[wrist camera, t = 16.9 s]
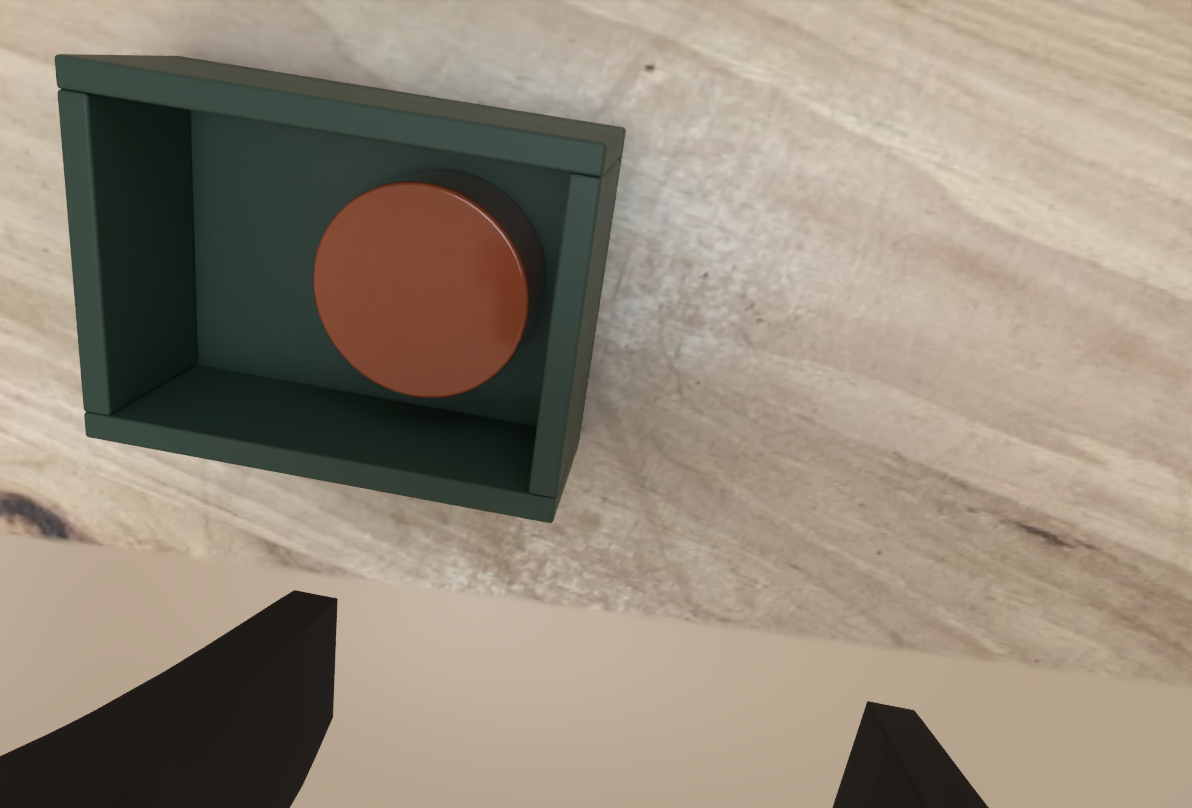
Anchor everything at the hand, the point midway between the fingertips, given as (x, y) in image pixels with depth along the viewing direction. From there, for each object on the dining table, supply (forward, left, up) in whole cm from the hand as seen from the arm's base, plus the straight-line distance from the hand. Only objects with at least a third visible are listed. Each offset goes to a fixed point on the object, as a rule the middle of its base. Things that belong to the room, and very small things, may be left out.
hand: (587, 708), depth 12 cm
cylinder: (+3, +5, -10) cm, 11 cm away
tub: (+3, +7, -10) cm, 13 cm away
